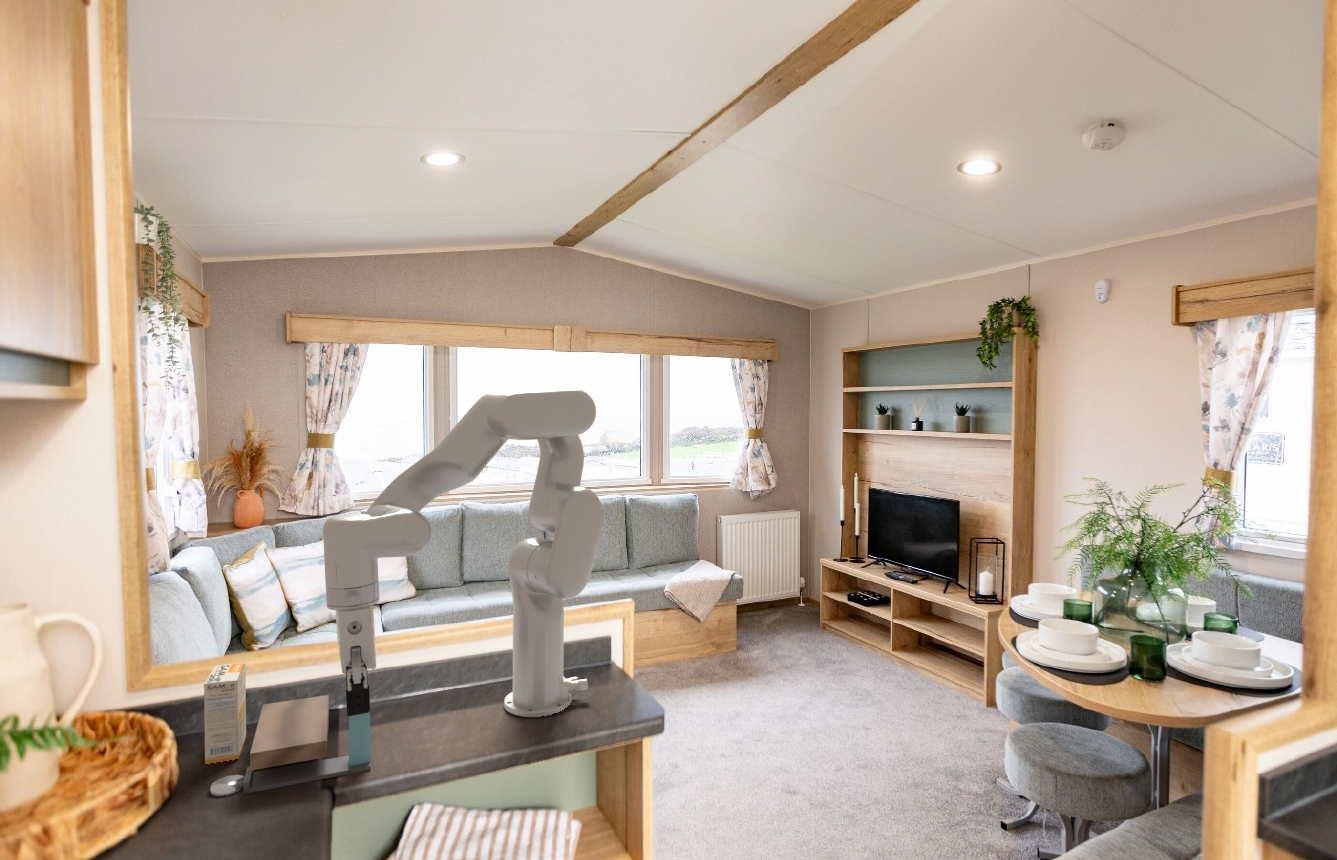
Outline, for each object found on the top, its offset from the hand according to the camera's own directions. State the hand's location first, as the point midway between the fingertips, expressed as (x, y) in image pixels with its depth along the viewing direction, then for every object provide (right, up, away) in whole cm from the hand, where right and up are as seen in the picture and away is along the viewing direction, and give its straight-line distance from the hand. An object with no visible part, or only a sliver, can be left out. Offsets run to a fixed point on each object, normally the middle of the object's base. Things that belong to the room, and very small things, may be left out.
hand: (358, 701), depth 111 cm
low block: (-11, -10, +2) cm, 15 cm away
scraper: (-7, -10, -3) cm, 12 cm away
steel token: (-16, -10, -7) cm, 20 cm away
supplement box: (-23, -10, +4) cm, 25 cm away
